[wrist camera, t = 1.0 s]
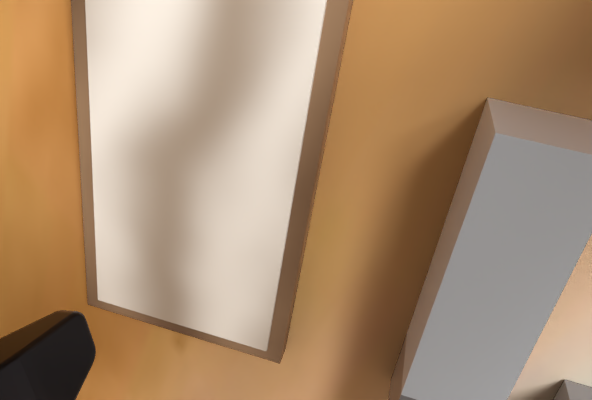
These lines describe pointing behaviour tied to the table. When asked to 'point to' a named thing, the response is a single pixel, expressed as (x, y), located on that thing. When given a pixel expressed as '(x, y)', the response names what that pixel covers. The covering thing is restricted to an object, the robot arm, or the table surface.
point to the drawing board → (203, 158)
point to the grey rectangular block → (500, 255)
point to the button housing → (573, 391)
